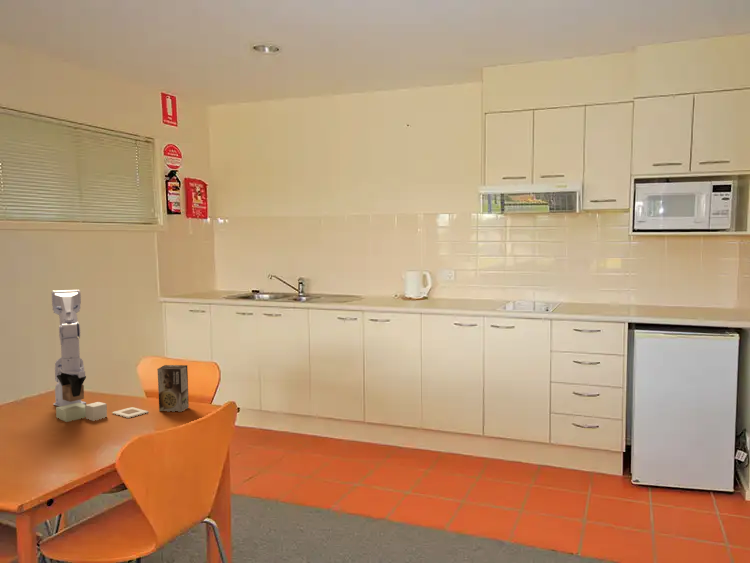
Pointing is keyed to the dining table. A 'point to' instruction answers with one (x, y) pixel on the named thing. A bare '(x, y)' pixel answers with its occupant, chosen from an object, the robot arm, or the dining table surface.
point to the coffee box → (173, 388)
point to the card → (130, 412)
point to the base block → (71, 412)
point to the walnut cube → (68, 393)
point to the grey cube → (96, 411)
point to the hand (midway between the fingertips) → (72, 394)
